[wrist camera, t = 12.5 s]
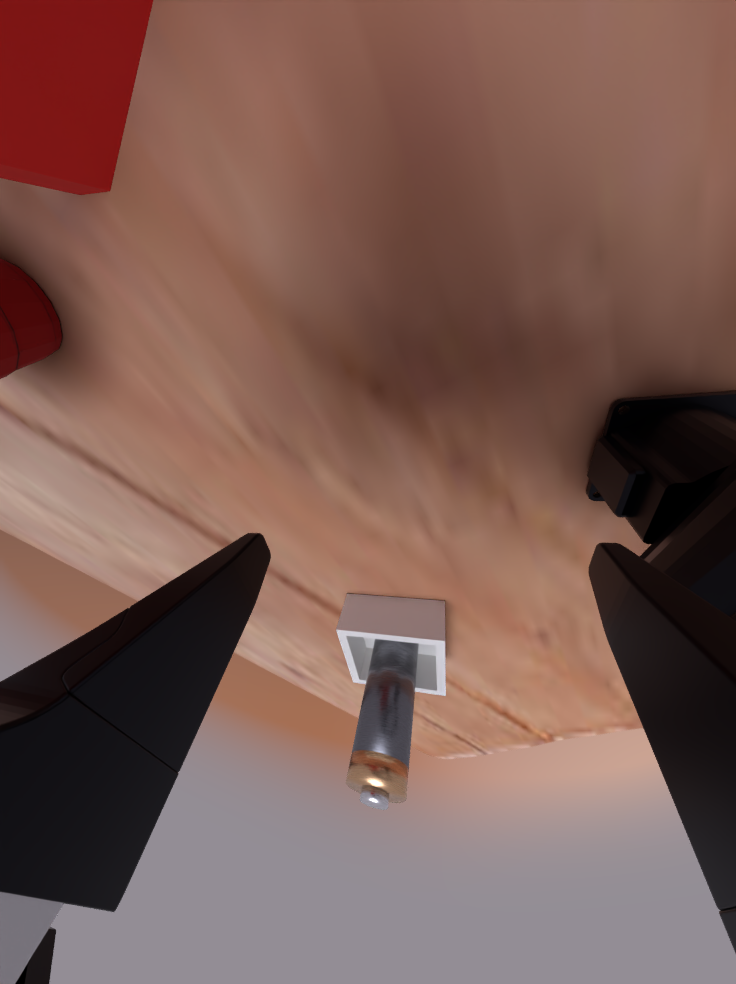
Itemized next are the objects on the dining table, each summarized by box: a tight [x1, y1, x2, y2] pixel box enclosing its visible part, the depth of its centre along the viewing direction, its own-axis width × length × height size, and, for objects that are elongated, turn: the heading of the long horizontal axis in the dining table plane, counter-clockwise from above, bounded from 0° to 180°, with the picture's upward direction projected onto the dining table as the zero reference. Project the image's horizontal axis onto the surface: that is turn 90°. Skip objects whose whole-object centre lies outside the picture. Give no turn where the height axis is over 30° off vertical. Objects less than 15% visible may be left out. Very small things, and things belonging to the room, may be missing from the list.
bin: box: [336, 593, 446, 696], centre depth 31 cm, size 10×10×4 cm
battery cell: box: [346, 639, 419, 810], centre depth 27 cm, size 4×4×13 cm
